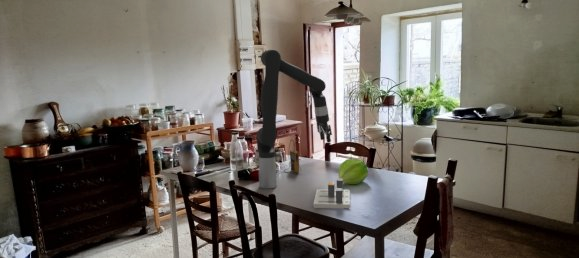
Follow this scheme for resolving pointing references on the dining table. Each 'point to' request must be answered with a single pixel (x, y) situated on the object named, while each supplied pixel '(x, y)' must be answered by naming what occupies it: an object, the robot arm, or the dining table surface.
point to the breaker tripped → (331, 189)
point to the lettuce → (353, 171)
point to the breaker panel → (331, 199)
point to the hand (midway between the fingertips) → (325, 140)
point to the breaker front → (338, 195)
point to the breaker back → (340, 183)
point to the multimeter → (294, 160)
